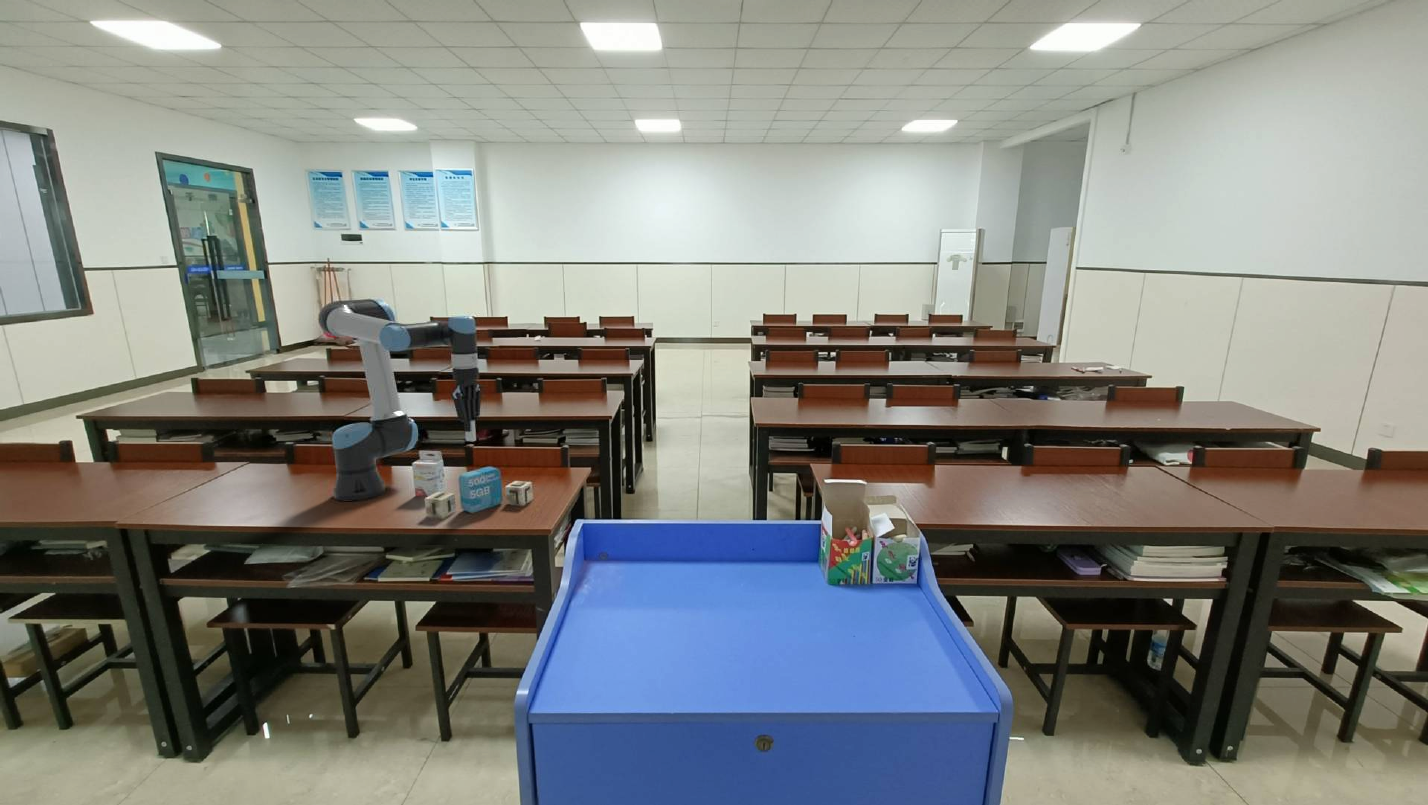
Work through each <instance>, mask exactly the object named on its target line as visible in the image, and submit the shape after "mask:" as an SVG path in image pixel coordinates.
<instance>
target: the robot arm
mask: <svg viewBox="0 0 1428 805" xmlns="http://www.w3.org/2000/svg"><path fill="white" fill-rule="evenodd" d="M317 319H318V324H319V326H320V328H321V329H322V331H323V332H324V333H326V334H327V335H329V336H332V337H337V338H348V337H350V338H352V341H353V342H354V343H355V344H357V345H358V346H359V350H360V355H361V356H360V357H361V360H362V366H363V370H364V374H365V380H366V383H367V389H368V393H369V398H370V403H371V407H372V412H373V415H371V417H370V418H369V421H370V423H369V422H366V421H365V422H356V423H351V424H347V425H343V426H341V427H339V428H337V429H336V430H335V431H334V432H333V433H332V440H331V441H332V448H333V454H334V455H333V456H334V461H335V468H336V479H335V484H334V488H333V498H335V499H334V500H336V499H337V500H336V501H339V500H345V501H344V502H350V501H349V500H357V501H362V500H367V499H371V498H370V497H372V498H374V497H377V496H379V494H380V495H382V494H383V493H384V492H385V491H386V486H385V481H384V480H383V479H382V477H381V475H380V473H379V471H378V468H377V460H378V459H382V458H385V457H389V456H392V455H396V454H402V453H404V452H407V451H409V450H411V449H413V448H414V447H415V445H416V444H417V441H418V439H419V438H418V437H419V431H418V430H419V429H418V425H417V423H415V420H414V419H412V418H410V417H408V415H407V414H408V413H407V412H406V411H404V410H402V408H401V403H400V398H399V393H398V389H397V383H396V379H395V375H394V369H393V364H392V358H391V355H390V352H403V351H409V350H415V349H422V348H423V349H424V348H433V347H450V354H451V358H450V359H451V366H452V367H453V368H452V379H453V381H455V382H456V384H455V390H454V391H452V392H450V396H451V398H452V400H453V404H454V407H455V408H454V409H455V412H456V415H457V419H458V421H460V422H463V428H464V433H465V434H464V436H465V441H466V442H475V441H477V432H476V428H477V427H476V425H477V424H476V421H478V420H479V417H480V416H481V401H482V392H483V390H484V386H483V385H479V384H478V380H479V379H480V369H479V367H478V365H479V360H478V359H479V358H478V344H477V342H478V341H477V328H476V321H475V318H474V317H473V316H470V315H455V316H450V317H448V321H442V320H429V321H426V322H417V323H416V322H415V323H400V322H397V321H396V315H395V313H394V310H393V309H392V308H391V306H390V305H389V304H388V303H387V302H386V301H384V300H382V299H374V298H367V299H352V300H351V299H350V300H335V301H332V302H329V303H327V304H326V305H324V306H323V307H322V308H321V309H320V311H319V312H318V318H317ZM346 500H347V501H346Z"/></svg>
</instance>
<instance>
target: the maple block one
mask: <svg viewBox="0 0 1428 805" xmlns="http://www.w3.org/2000/svg"><path fill="white" fill-rule="evenodd" d="M424 505H425V507H424V508H425V514H426V515H425V516H426V517H427V518H434V519H443V520H444V519H446V518H447V517H449V516H451V515H452V514H454V513H456V512H457V507H456V496H455V492H453V493H452V492H437V493H435V494H433V495H431V496H429V497H425V498H424Z"/></svg>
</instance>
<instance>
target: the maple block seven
mask: <svg viewBox="0 0 1428 805" xmlns="http://www.w3.org/2000/svg"><path fill="white" fill-rule="evenodd" d="M504 488H505V489H504V490H505V491H504V492H505V502H506V503H505V504H506V505H508V504H510V505H511V506H518V507H519V506H520V507H522V506H523V507H524V506H525V505H527V504H528V503H531V501H533V500H532V499H534V495H533V482H532V481H522V480H514V481H513V482H511V483H509V484H507V485H506V486H505V487H504ZM526 503H527V504H526Z"/></svg>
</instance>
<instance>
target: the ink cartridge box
mask: <svg viewBox="0 0 1428 805" xmlns="http://www.w3.org/2000/svg"><path fill="white" fill-rule="evenodd" d="M418 455H419V459H417V460H415V461H414V462H412V463H411V466H412V475H413V486H414V495H415V497H425V498H427V497H429V496H431V495H433V494H435V493H437V492H445V493H447V488H446V478H445V471H444V469H445V468H444V460H443V456H442V452H441V451H440V450H439V451H438V450H418Z"/></svg>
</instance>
